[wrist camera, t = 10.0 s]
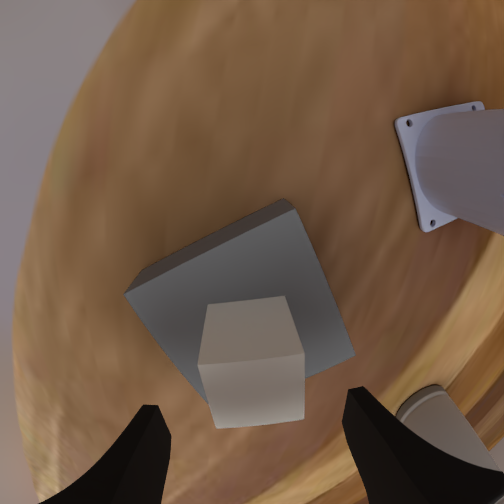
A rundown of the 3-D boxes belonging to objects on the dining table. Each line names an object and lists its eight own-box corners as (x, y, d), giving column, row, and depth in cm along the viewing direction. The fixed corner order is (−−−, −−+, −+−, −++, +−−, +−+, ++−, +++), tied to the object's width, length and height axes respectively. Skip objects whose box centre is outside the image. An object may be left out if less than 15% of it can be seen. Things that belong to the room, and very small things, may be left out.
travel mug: (382, 425, 25) (446, 573, 6) (421, 380, 23) (515, 533, 4) (416, 426, 26) (479, 550, 7) (452, 386, 24) (536, 510, 5)
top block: (287, 356, 16) (304, 419, 12) (219, 363, 16) (216, 428, 11) (284, 295, 15) (304, 353, 10) (207, 304, 15) (197, 364, 10)
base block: (282, 197, 18) (295, 208, 14) (337, 323, 21) (355, 355, 17) (143, 267, 18) (123, 294, 15) (217, 374, 21) (214, 411, 18)
